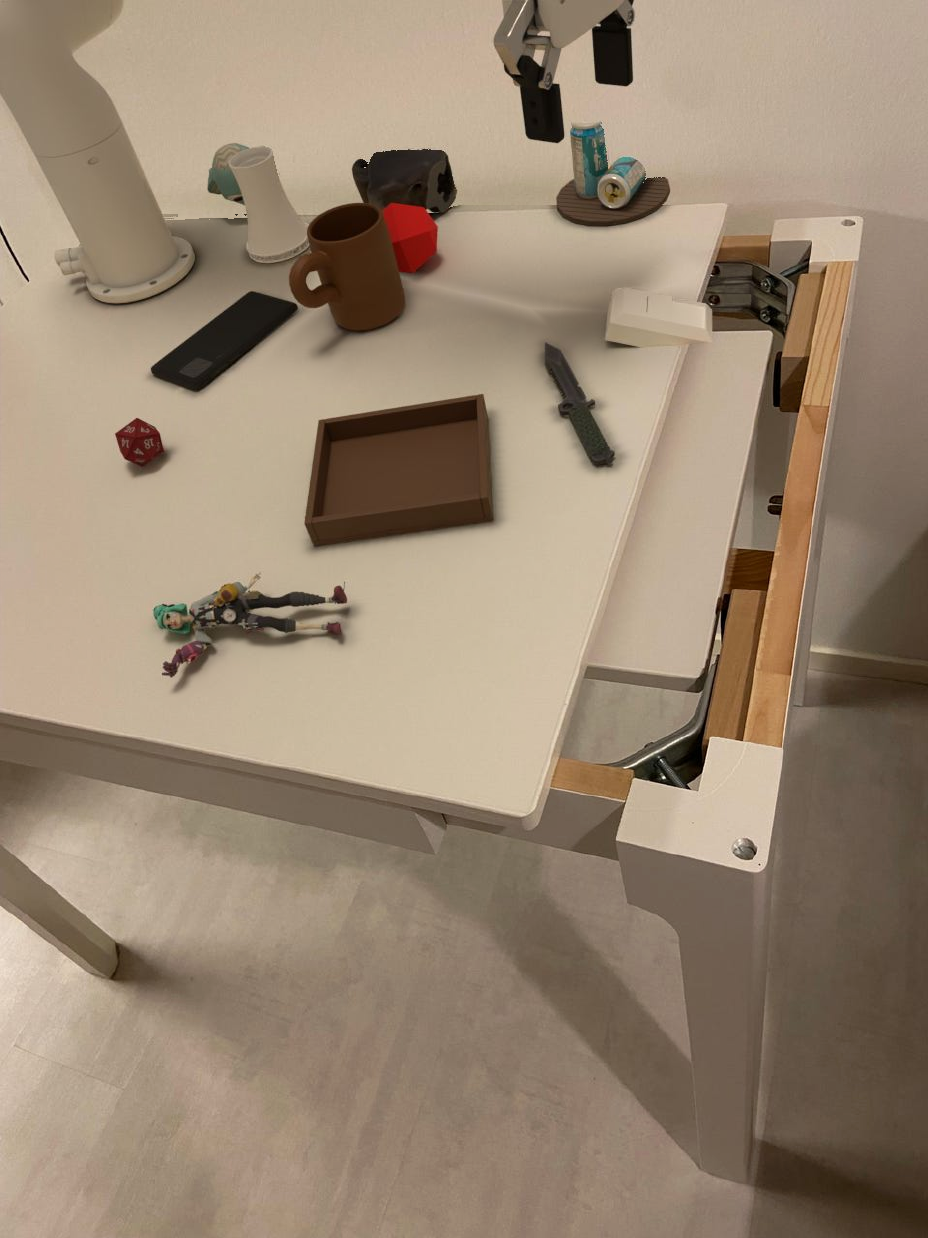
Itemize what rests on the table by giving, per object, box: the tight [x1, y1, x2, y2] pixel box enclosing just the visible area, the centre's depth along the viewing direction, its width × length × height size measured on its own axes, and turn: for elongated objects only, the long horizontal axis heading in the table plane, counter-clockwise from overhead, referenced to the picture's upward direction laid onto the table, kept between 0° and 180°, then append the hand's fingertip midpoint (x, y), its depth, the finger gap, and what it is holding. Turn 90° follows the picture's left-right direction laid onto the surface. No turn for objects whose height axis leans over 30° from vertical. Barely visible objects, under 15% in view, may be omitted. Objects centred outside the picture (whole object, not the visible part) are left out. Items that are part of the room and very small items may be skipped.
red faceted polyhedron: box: [382, 203, 439, 275], centre depth 97 cm, size 7×7×8 cm
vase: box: [228, 145, 310, 264], centre depth 103 cm, size 8×8×10 cm
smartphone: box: [150, 290, 299, 391], centre depth 95 cm, size 7×1×15 cm
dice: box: [114, 417, 165, 468], centre depth 83 cm, size 4×4×4 cm
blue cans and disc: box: [555, 121, 671, 227], centre depth 97 cm, size 12×12×8 cm
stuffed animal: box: [206, 142, 250, 206], centre depth 113 cm, size 11×7×12 cm
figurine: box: [152, 571, 348, 679], centre depth 68 cm, size 7×15×4 cm, turn 100°
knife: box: [544, 341, 615, 466], centre depth 79 cm, size 18×1×3 cm
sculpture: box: [351, 148, 458, 214], centre depth 104 cm, size 21×6×12 cm
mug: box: [288, 202, 406, 332], centre depth 90 cm, size 12×8×9 cm, turn 143°
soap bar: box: [604, 286, 713, 348], centre depth 83 cm, size 5×9×3 cm, turn 81°
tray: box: [304, 393, 494, 547], centre depth 76 cm, size 14×13×2 cm
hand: (580, 110), depth 73 cm, fingers open, 9 cm apart
